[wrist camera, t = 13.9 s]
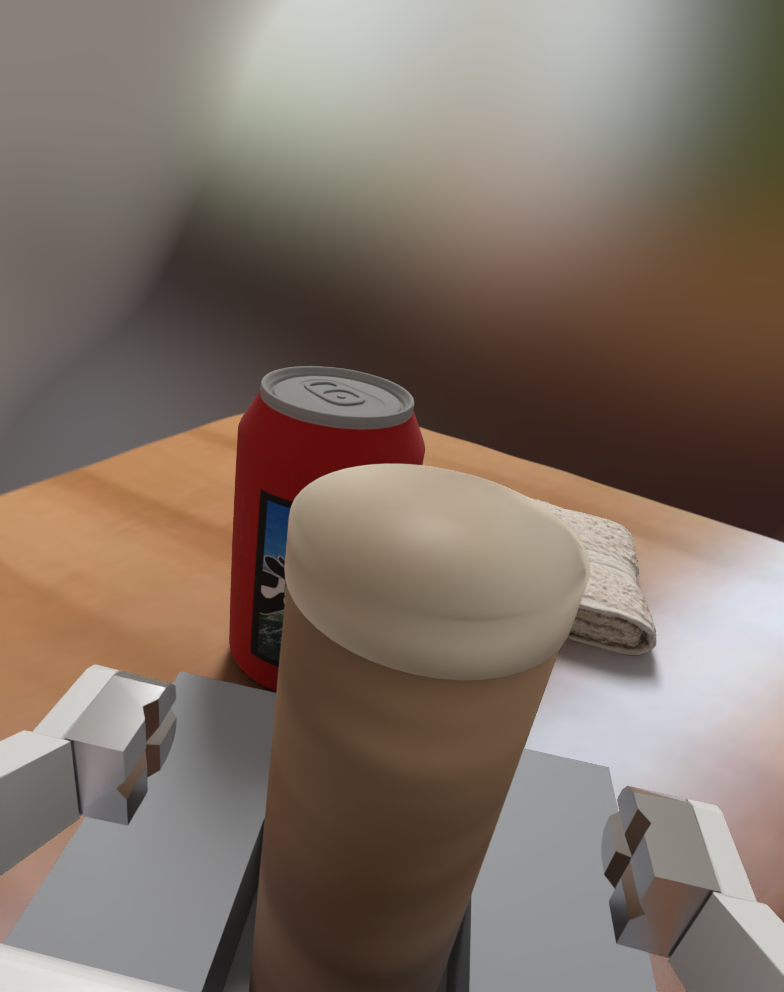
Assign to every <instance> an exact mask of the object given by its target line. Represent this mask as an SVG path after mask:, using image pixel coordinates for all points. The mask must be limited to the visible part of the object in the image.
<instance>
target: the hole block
mask: <svg viewBox="0 0 784 992" xmlns="http://www.w3.org/2000/svg"><path fill="white" fill-rule="evenodd" d="M172 684H174V685H176V701H175V702H174V704H173V705H172V707H171V710H172V712H173V713H174V714H175V716H176V717H177V720H176V732H175V738H174V741H173V744H172V747H171V749H170V752H169V755H168V757H167V759H166V761H165V763H164V764H163V766H162V768H161V770H160V771H158V772H156V773H155V774H153V775H151V776H150V777H148V778H147V781H148V792H147V794H146V796H145V797H144V799H143V801H142V803H141V804H140V806H139V808H138V809H137V811H136V813H135V815H134V816H133V818H132V820H131V821H130V823H129V825H128V826H127V825H122V824H117V823H112V822H108V821H103V820H98V819H93V818H89V817H85V819H84V820H83V822H82V823H81V825H80V826H79V828H78V829H77V831H76V832H75V834H74V836H73V837H72V839H71V840H70V842H69V843H68V845H67V846H66V848H65V849H64V851H63V852H62V854H61V855H60V857H59V859H58V860H57V862H56V863H55V865H54V866H53V868H52V869H51V871H50V872H49V874H48V875H47V877H46V879H45V880H44V882H43V883H42V885H41V886H40V888H39V889H38V891H37V892H36V894H35V895H34V897H33V898H32V900H31V902H30V903H29V905H28V906H27V908H26V909H25V911H24V912H23V914H22V915H21V917H20V918H19V920H18V922H17V923H16V925H15V926H14V928H13V929H12V931H11V932H10V934H9V935H8V937H7V938H6V940H5V941H4V943H3V944H5V945H8V946H12V947H16V948H20V949H24V950H28V951H32V952H36V953H40V954H44V955H48V956H51V957H55V958H59V959H63V960H67V961H71V962H75V963H79V964H83V965H87V966H90V967H94V968H98V969H102V970H106V971H110V972H114V973H118V974H122V975H126V976H129V977H133V978H137V979H141V980H145V981H149V982H153V983H157V984H161V985H165V986H168V987H172V988H176V989H180V990H184V991H188V992H249V983H250V972H251V962H252V951H253V940H254V929H255V918H256V908H257V897H258V886H259V875H260V865H261V854H262V843H263V832H264V822H265V811H266V800H267V789H268V779H269V768H270V757H271V746H272V736H273V725H274V714H275V703H276V693H274V692H269V691H265V690H261V689H256V688H252V687H247V686H243V685H238V684H234V683H229V682H225V681H220V680H216V679H211V678H207V677H202V676H198V675H193V674H189V673H185V672H180V673H179V674H178V676H177V677H176V679H175V680H174V682H173V683H172ZM617 812H618V808H617V804H616V799H615V794H614V790H613V785H612V780H611V776H610V771H609V767H605V766H600V765H596V764H591V763H587V762H582V761H578V760H573V759H569V758H564V757H560V756H556V755H551V754H547V753H542V752H538V751H533V750H529V749H524V750H523V752H522V755H521V758H520V761H519V764H518V766H517V769H516V772H515V775H514V777H513V780H512V783H511V786H510V789H509V791H508V794H507V797H506V800H505V803H504V805H503V808H502V811H501V814H500V816H499V819H498V822H497V825H496V828H495V830H494V833H493V836H492V839H491V841H490V844H489V847H488V850H487V853H486V855H485V858H484V861H483V864H482V867H481V869H480V872H479V875H478V878H477V880H476V883H475V886H474V889H473V892H472V894H471V897H470V900H469V903H468V906H467V908H466V911H465V914H464V917H463V919H462V922H461V925H460V928H459V931H458V933H457V936H456V939H455V942H454V944H453V947H452V950H451V953H450V956H449V958H448V961H447V964H446V967H445V970H444V972H443V975H442V978H441V981H440V983H439V986H438V989H437V992H657V990H656V985H655V980H654V976H653V971H652V966H651V962H650V957H649V953H648V952H645V951H641V950H637V949H633V948H630V947H626V946H622V945H619V944H616V940H615V934H614V929H613V923H612V918H611V912H610V906H609V900H610V898H611V896H612V894H613V892H614V890H615V889H614V887H613V886H612V885H611V883H610V882H609V881H608V879H607V878H606V877H605V875H604V871H603V865H602V856H601V843H602V837H603V830H604V827H605V825H606V823H607V820H608V818H609V816H611V815H613V814H615V813H617Z"/></svg>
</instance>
